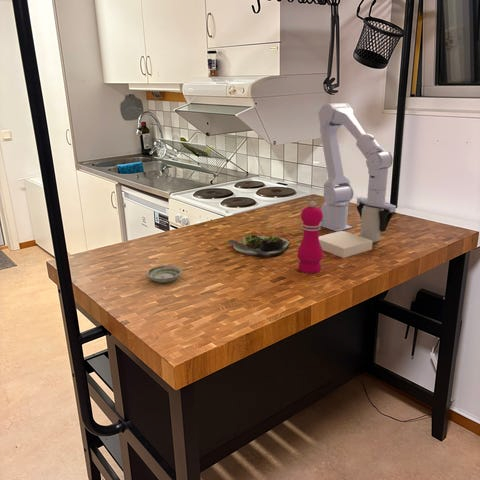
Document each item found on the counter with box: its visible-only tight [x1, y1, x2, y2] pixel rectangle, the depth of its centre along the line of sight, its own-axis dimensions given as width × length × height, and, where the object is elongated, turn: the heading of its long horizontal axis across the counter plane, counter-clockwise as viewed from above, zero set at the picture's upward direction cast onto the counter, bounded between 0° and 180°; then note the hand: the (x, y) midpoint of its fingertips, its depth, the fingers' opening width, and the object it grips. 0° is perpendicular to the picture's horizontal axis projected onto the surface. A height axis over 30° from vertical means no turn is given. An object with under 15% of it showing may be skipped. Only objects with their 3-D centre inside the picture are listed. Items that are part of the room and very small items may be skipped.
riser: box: [318, 230, 373, 259], centre depth 152 cm, size 13×13×3 cm
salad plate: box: [227, 234, 291, 258], centre depth 153 cm, size 19×18×5 cm
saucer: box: [145, 265, 183, 284], centre depth 129 cm, size 10×10×2 cm
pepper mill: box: [296, 200, 324, 274], centre depth 132 cm, size 7×7×20 cm
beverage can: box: [359, 204, 383, 244], centre depth 158 cm, size 6×6×12 cm
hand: (373, 228), depth 159 cm, fingers open, 7 cm apart
